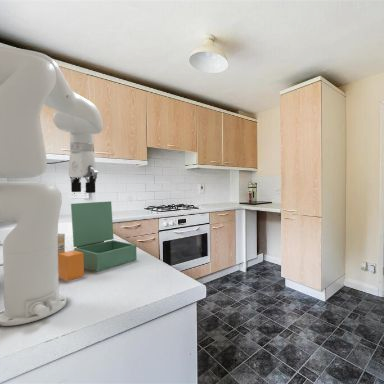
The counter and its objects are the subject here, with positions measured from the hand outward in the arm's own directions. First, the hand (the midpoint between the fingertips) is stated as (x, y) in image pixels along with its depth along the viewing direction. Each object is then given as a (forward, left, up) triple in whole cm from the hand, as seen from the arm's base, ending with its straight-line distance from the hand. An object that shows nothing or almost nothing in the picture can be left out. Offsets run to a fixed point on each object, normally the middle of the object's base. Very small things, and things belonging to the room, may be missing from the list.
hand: (83, 192), depth 92 cm
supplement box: (-2, +12, -28) cm, 31 cm away
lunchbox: (-10, -3, -28) cm, 30 cm away
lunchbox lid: (-2, -3, -12) cm, 13 cm away
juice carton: (-15, +11, -28) cm, 33 cm away
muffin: (+9, -7, -28) cm, 30 cm away
